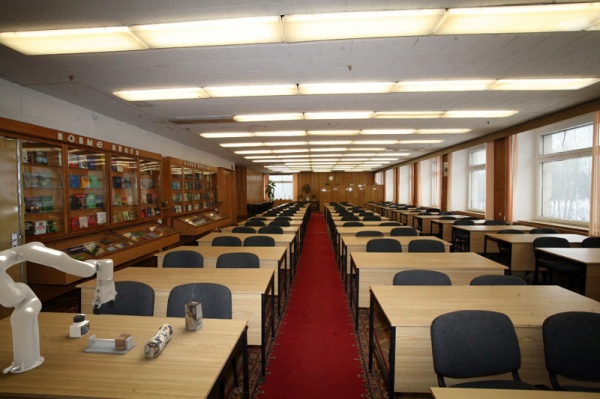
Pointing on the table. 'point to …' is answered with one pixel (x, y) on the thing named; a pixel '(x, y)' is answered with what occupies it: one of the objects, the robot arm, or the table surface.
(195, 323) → the coffee box
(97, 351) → the rail
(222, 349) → the table surface
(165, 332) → the pencil case
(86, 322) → the medicine bottle
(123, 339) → the keeper
